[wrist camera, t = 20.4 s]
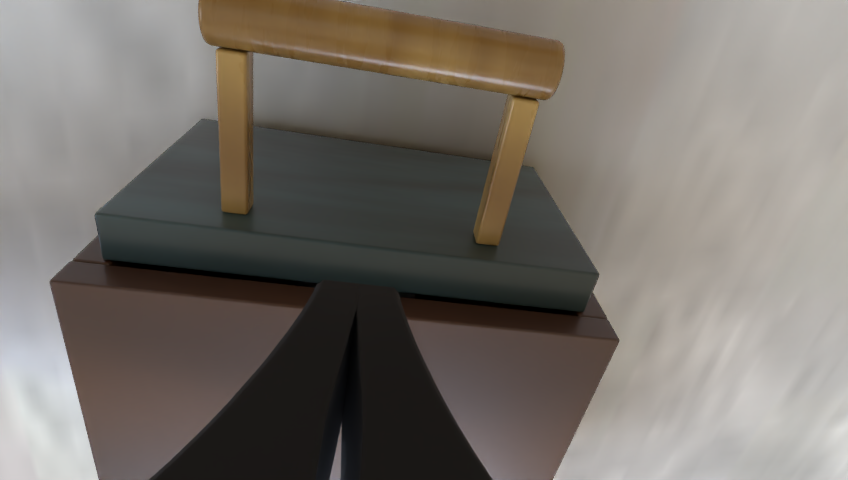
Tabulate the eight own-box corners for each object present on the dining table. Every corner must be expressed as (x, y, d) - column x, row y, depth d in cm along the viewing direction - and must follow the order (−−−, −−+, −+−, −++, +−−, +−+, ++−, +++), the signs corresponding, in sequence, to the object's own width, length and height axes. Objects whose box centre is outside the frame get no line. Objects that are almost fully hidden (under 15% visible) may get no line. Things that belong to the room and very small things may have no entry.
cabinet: (194, 140, 18) (47, 280, 10) (534, 188, 19) (620, 340, 12) (211, 419, 25) (132, 619, 17) (458, 437, 26) (481, 628, 19)
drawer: (192, -49, 14) (45, -46, 8) (577, 22, 15) (687, 69, 10) (216, 402, 23) (155, 558, 17) (457, 421, 24) (476, 570, 19)
